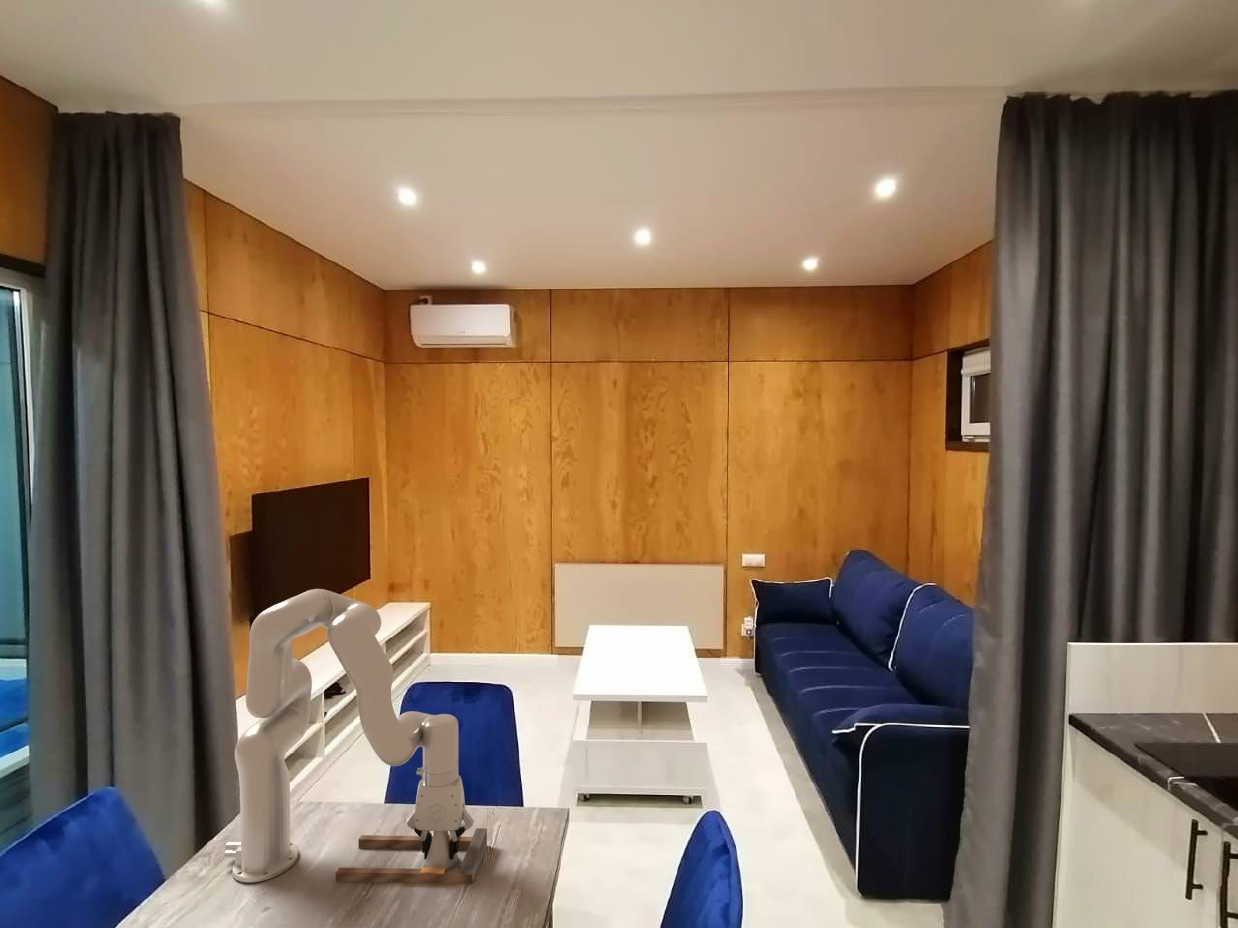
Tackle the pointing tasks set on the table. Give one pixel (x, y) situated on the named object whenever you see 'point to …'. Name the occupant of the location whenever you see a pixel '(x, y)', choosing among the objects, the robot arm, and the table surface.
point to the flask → (440, 851)
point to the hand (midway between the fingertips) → (440, 854)
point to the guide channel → (424, 875)
